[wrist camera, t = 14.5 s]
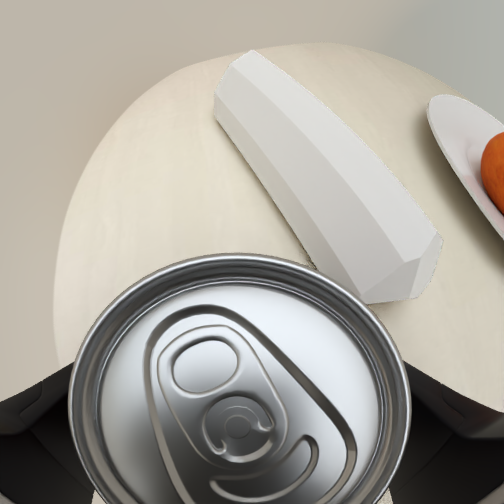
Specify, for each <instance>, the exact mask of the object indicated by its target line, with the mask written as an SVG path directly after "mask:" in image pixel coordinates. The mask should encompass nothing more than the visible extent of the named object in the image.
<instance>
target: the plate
mask: <svg viewBox="0 0 504 504" xmlns="http://www.w3.org/2000/svg"><path fill="white" fill-rule="evenodd" d="M427 118H428V121H429V125H430V127H431V130H432V132H433V134H434V137H435V139H436V141H437V143H438V144H439V146H440V148H441V150H442V152H443V153H444V155H445V157H446V159H447V160H448V162H449V163H450V165H451V167H452V168H453V170H454V171H455V173H456V174H457V176H458V177H459V179H460V180H461V182H462V184H463V185H464V187H465V188H466V189H467V191H468V192H469V194H470V195H471V197H472V198H473V200H474V201H475V202H476V204H477V205H478V206H479V208H480V209H481V211H482V212H483V213H484V215H485V216H486V217H487V219H488V220H489V222H490V223H491V224H492V226H493V227H494V228H495V229H496V231H497V232H498V233H499V235H500V236H501V237H502V238H503V240H504V125H503V124H502V123H500V122H499V121H498V120H497V119H496V118H494V117H493V116H492V115H490V114H489V113H487V112H486V111H484V110H483V109H481V108H480V107H478V106H476V105H475V104H473V103H471V102H469V101H467V100H464V99H462V98H459V97H456V96H452V95H446V94H441V95H437V96H434V97H433V98H432V99H431V100H430V101H429V102H428V104H427Z"/></svg>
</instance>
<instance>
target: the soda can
mask: <svg viewBox="0 0 504 504" xmlns="http://www.w3.org/2000/svg"><path fill="white" fill-rule="evenodd" d="M411 413H412V408H411V393H410V387H409V381H408V377H407V373H406V369H405V366H404V363H403V360H402V358H401V355H400V353H399V350H398V348H397V346H396V344H395V343H394V341H393V339H392V337H391V335H390V334H389V332H388V331H387V329H386V328H385V326H384V325H383V323H382V322H381V321H380V320H379V318H378V317H377V316H376V315H375V313H374V312H373V311H372V310H371V309H370V308H369V307H368V306H367V305H366V304H365V303H364V302H363V301H362V300H361V299H360V298H359V297H357V296H356V295H355V294H354V293H353V292H351V291H350V290H349V289H347V288H346V287H345V286H343V285H342V284H340V283H339V282H337V281H336V280H334V279H332V278H330V277H329V276H327V275H325V274H323V273H321V272H319V271H317V270H315V269H312V268H310V267H308V266H306V265H303V264H300V263H297V262H294V261H291V260H287V259H283V258H279V257H274V256H268V255H262V254H253V253H220V254H211V255H204V256H199V257H195V258H190V259H186V260H183V261H180V262H177V263H173V264H171V265H168V266H166V267H164V268H161V269H159V270H157V271H155V272H153V273H151V274H149V275H147V276H145V277H143V278H142V279H140V280H139V281H137V282H136V283H134V284H133V285H131V286H130V287H128V288H127V289H126V290H125V291H123V292H122V293H121V294H120V295H119V296H117V297H116V298H115V299H114V300H113V301H112V302H111V303H110V304H109V305H108V306H107V307H106V308H105V310H104V311H103V312H102V313H101V314H100V316H99V317H98V318H97V319H96V321H95V322H94V324H93V325H92V327H91V328H90V330H89V331H88V333H87V335H86V337H85V339H84V340H83V342H82V344H81V346H80V349H79V351H78V354H77V356H76V359H75V362H74V366H73V369H72V373H71V378H70V384H69V393H68V417H69V425H70V431H71V436H72V440H73V444H74V447H75V451H76V453H77V456H78V459H79V461H80V464H81V466H82V468H83V470H84V472H85V474H86V476H87V477H88V479H89V481H90V482H91V484H92V485H93V487H94V489H95V490H96V491H97V493H98V494H99V495H100V497H101V498H102V499H103V500H104V502H105V503H106V504H377V502H378V501H379V500H380V499H381V498H382V496H383V495H384V493H385V492H386V490H387V489H388V487H389V486H390V484H391V483H392V481H393V479H394V477H395V475H396V473H397V471H398V469H399V467H400V464H401V462H402V459H403V457H404V454H405V450H406V447H407V443H408V439H409V433H410V427H411Z"/></svg>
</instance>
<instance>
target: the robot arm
mask: <svg viewBox="0 0 504 504" xmlns="http://www.w3.org/2000/svg"><path fill="white" fill-rule="evenodd" d="M74 362H75V361H74ZM74 362H73V363H71V364H69V365H68V366H66V367H64V368H62V369H61V370H59V371H57V372H56V373H54V374H52V375H51V376H49V377H47V378H46V379H44V380H43V382H42V381H40V382H39V383H37V384H35V385H33V386H32V387H30V388H28V389H26V390H25V391H23V392H21V393H19V394H17V395H14V396H12V397H10V398H8V399H6V400H4V401H1V402H0V504H91V503H92V499H93V494H94V490H95V489H94V487H93V485H92V484H91V482H90V481H89V479H88V477H87V476H86V474H85V472H84V470H83V468H82V466H81V464H80V461H79V459H78V456H77V453H76V451H75V447H74V444H73V440H72V436H71V431H70V425H69V417H68V393H69V384H70V378H71V373H72V369H73V366H74ZM403 363H404V366H405V369H406V373H407V377H408V381H409V387H410V393H411V408H412V413H411V427H410V433H409V439H408V443H407V447H406V450H405V454H404V457H403V459H402V462H401V464H400V467H399V469H398V471H397V473H396V475H395V477H394V479H393V481H392V483H391V484H390V486H389V490H390V494H391V496H392V501H393V504H504V413H503V412H498V411H496V410H493V409H491V408H489V407H487V406H484V405H482V404H480V403H478V402H476V401H474V400H471V399H469V398H467V397H465V396H463V395H461V394H459V393H457V392H456V391H454V390H452V389H450V388H449V387H447V386H445V385H444V384H441V383H440V382H438V381H437V380H435V379H433V378H432V377H430V376H428V375H427V374H425V373H423V372H422V371H420V370H418V369H416V368H415V367H413V366H411V365H410V364H408V363H406V362H405V361H403Z"/></svg>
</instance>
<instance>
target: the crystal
mask: <svg viewBox="0 0 504 504" xmlns="http://www.w3.org/2000/svg"><path fill="white" fill-rule="evenodd" d="M214 116H215V118H216V119H217V120H218V122H219V123H220V124H221V126H222V127H223V129H224V130H225V131H226V133H227V134H228V135H229V137H230V138H231V140H232V141H233V142H234V144H235V145H236V147H237V148H238V149H239V151H240V152H241V154H242V155H243V157H244V158H245V159H246V161H247V162H248V164H249V165H250V167H251V168H252V169H253V171H254V172H255V174H256V175H257V177H258V178H259V180H260V181H261V183H262V184H263V186H264V187H265V188H266V190H267V191H268V193H269V194H270V196H271V197H272V199H273V200H274V202H275V203H276V205H277V206H278V208H279V209H280V211H281V212H282V214H283V216H284V217H285V219H286V220H287V222H288V223H289V225H290V226H291V228H292V229H293V231H294V232H295V234H296V236H297V237H298V239H299V240H300V242H301V243H302V245H303V247H304V248H305V250H306V251H307V253H308V255H309V256H310V258H311V259H312V261H313V263H314V264H315V266H316V267H317V269H318V271H319V272H321V273H323V274H325V275H327V276H329V277H330V278H332V279H334V280H336V281H337V282H339V283H340V284H342V285H343V286H345V287H346V288H347V289H349V290H350V291H351V292H353V293H354V294H355V295H356V296H357V297H359V298H360V299H361V300H362V301H363V302H364V303H365V304H373V303H382V302H391V301H399V300H407V299H414V298H418V297H419V295H420V294H421V293H422V292H423V291H424V289H425V288H426V287H427V285H428V284H429V283H430V282H431V279H432V276H433V273H434V270H435V267H436V264H437V261H438V258H439V255H440V251H441V248H442V244H443V241H444V240H443V239H442V237H441V236H440V234H439V233H438V231H437V230H436V228H435V227H434V226H433V224H432V223H431V221H430V220H429V219H428V217H427V216H426V214H425V213H424V212H423V210H422V209H421V208H420V206H419V205H418V204H417V202H416V201H415V200H414V199H413V197H412V196H411V195H410V194H409V192H408V191H407V190H406V189H405V187H404V186H403V185H402V184H401V183H400V181H399V180H398V179H397V178H396V177H395V175H394V174H393V173H392V172H391V171H390V170H389V168H388V167H387V166H386V165H385V164H384V163H383V162H382V161H381V160H380V158H379V157H378V156H377V155H376V154H375V153H374V152H373V151H372V150H371V149H370V148H369V147H368V146H367V145H366V144H365V143H364V141H363V140H362V139H361V138H360V137H359V136H358V135H357V134H356V133H355V132H354V131H353V130H352V129H350V128H349V127H348V126H347V125H346V124H345V123H344V122H343V121H342V120H341V119H340V118H339V117H338V116H337V115H336V114H335V113H333V112H332V111H331V110H330V109H329V108H328V107H327V106H326V105H325V104H323V103H322V102H321V101H320V100H319V99H318V98H316V97H315V96H314V95H313V94H312V93H311V92H309V91H308V90H307V89H306V88H304V87H303V86H302V85H301V84H299V83H298V82H297V81H296V80H294V79H293V78H292V77H291V76H289V75H288V74H287V73H285V72H284V71H283V70H281V69H280V68H279V67H277V66H276V65H274V64H273V63H272V62H270V61H269V60H267V59H266V58H265V57H263V56H262V55H260V54H259V53H257V52H256V51H254V50H253V49H252V50H250V51H248V52H247V53H245V54H244V55H242V56H241V57H239V58H238V59H236V60H234V61H233V62H231V63H230V64H229V66H228V68H227V70H226V71H225V73H224V75H223V77H222V79H221V81H220V83H219V84H218V86H217V88H216V90H215V92H214Z"/></svg>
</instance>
